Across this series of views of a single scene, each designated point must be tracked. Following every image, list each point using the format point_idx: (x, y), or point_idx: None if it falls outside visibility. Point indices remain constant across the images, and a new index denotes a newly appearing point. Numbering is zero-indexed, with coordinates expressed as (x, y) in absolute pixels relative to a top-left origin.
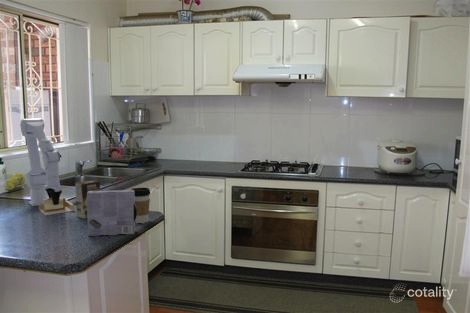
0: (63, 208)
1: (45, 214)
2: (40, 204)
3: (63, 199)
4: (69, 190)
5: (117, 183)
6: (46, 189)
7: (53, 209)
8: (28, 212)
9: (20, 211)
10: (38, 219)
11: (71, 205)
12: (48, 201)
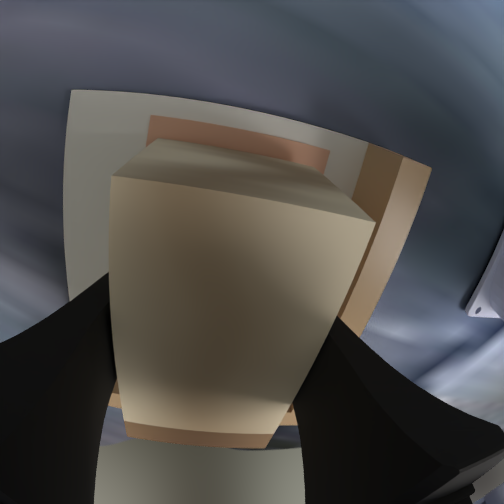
0: None
1: (71, 91)
2: (397, 170)
3: (126, 415)
4: (500, 417)
5: None
6: (446, 479)
7: None
8: (390, 25)
9: (475, 25)
10: (9, 5)
11: None
12: (113, 229)
